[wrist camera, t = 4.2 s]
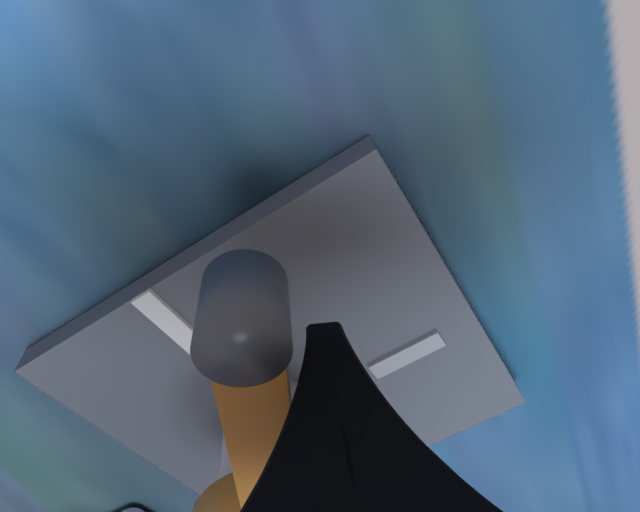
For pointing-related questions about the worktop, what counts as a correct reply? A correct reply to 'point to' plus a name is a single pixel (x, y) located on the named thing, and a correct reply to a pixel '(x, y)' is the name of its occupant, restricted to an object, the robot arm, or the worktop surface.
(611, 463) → the worktop surface
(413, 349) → the plate
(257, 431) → the crank handle
